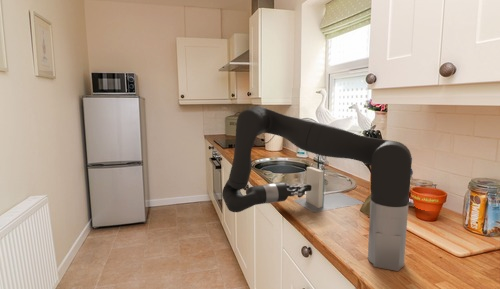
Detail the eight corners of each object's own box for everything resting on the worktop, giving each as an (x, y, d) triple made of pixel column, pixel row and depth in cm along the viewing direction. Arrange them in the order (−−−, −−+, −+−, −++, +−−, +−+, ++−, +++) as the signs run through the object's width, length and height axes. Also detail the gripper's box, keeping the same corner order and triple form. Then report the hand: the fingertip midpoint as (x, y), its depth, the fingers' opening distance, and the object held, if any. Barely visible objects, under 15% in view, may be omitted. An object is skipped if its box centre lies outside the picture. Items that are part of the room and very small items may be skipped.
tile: (318, 207, 121) (319, 171, 118) (306, 201, 129) (306, 167, 127) (323, 206, 122) (324, 171, 119) (310, 200, 130) (311, 166, 128)
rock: (397, 217, 107) (386, 204, 117) (385, 200, 106) (374, 188, 115) (371, 233, 109) (362, 219, 119) (359, 216, 108) (351, 203, 117)
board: (313, 215, 116) (313, 212, 116) (292, 202, 130) (292, 200, 130) (365, 205, 126) (365, 203, 126) (340, 195, 140) (340, 192, 140)
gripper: (281, 188, 110) (320, 182, 117) (265, 179, 122) (301, 175, 129) (281, 207, 111) (319, 200, 118) (265, 197, 123) (301, 191, 130)
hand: (310, 187), depth 123 cm, fingers closed
